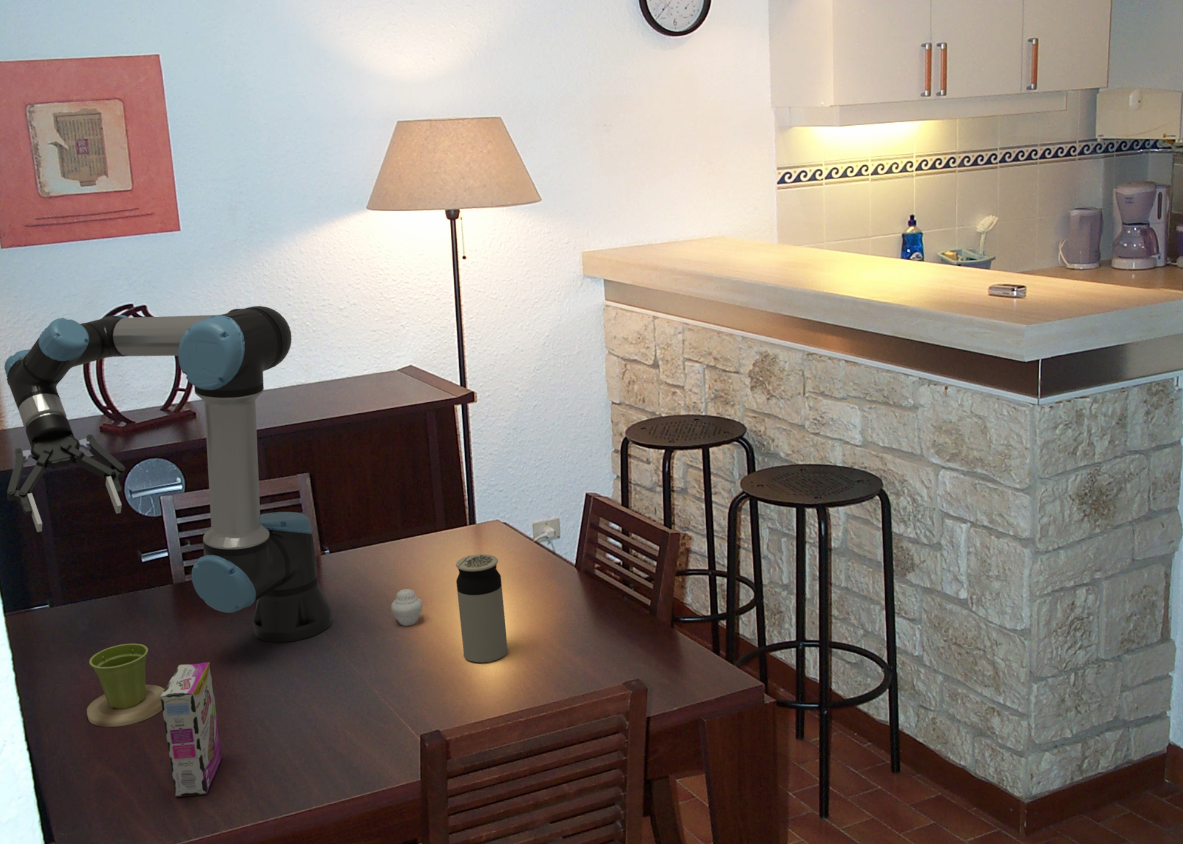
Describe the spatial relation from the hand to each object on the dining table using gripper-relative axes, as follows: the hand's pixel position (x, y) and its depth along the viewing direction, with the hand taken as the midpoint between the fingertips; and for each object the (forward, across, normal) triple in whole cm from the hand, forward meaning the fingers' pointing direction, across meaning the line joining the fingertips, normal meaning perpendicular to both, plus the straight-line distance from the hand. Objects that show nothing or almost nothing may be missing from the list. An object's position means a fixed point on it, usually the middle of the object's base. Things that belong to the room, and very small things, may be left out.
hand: (80, 518), depth 214 cm
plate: (+34, +1, -8) cm, 35 cm away
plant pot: (+34, +1, -7) cm, 34 cm away
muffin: (+36, -52, -6) cm, 63 cm away
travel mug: (+52, -55, +10) cm, 77 cm away
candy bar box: (+57, -1, +15) cm, 59 cm away
